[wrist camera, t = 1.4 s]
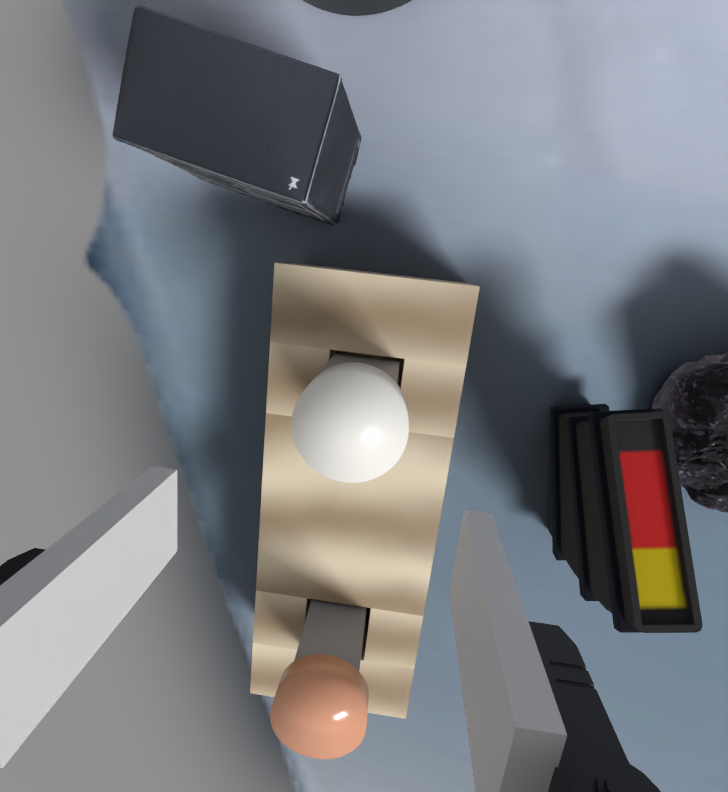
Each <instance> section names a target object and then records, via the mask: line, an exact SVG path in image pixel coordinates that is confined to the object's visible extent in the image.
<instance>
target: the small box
mask: <svg viewBox="0 0 728 792" xmlns="http://www.w3.org/2000/svg"><path fill="white" fill-rule="evenodd" d="M113 137H114V139H116V140H118V141H120V142H123V143H126V144H128V145H131V146H134V147H136V148H139V149H141V150H144V151H146V152H148V153H150V154H153V155H154V156H156V157H159V158H160V159H162V160H165V161H167V162H169V163H171V164H173V165H175V166H177V167H179V168H181V169H183V170H185V171H187V172H189V173H191V174H192V175H194V176H196V177H198V178H200V179H202V180H206V181H208V182H211V183H213V184H216V185H219V186H222V187H225V188H228V189H231V190H233V191H236V192H239V193H241V194H243V195H248V196H250V197H253V198H256V199H259V200H262V201H265V202H268V203H270V204H273V205H276V206H278V207H280V208H282V209H286V210H290V211H293V212H295V213H296V214H301V215H304V216H307V217H311V218H314V219H316V220H320V221H323V222H326V223H328V224H331V225H335V224H336V223H338V219H339V218H340V213H341V211H340V210H341V206H342V205H343V200H344V198H345V193H346V190H347V186H348V183H349V180H350V178H351V173H352V170H353V167H354V165H355V164H356V160H357V155H358V151H359V145H360V142H361V135H360V133H359V130H358V127H357V124H356V121H355V119H354V116H353V113H352V110H351V107H350V104H349V101H348V98H347V95H346V92H345V89H344V87H343V84H342V79H341V76H340V75H339V74H337V73H334V72H331V71H328V70H325V69H322V68H319V67H316V66H313V65H310V64H307V63H304V62H301V61H298V60H295V59H292V58H289V57H286V56H284V55H281V54H278V53H275V52H272V51H269V50H266V49H263V48H260V47H257V46H254V45H251V44H248V43H245V42H242V41H240V40H237V39H234V38H231V37H228V36H225V35H222V34H219V33H216V32H214V31H211V30H208V29H205V28H202V27H199V26H196V25H193V24H190V23H188V22H185V21H182V20H179V19H176V18H174V17H171V16H168V15H165V14H162V13H160V12H157V11H154V10H151V9H148V8H145V7H142V6H139V5H137V6H136V7H135V10H134V14H133V18H132V23H131V28H130V34H129V40H128V46H127V52H126V58H125V64H124V68H123V75H122V82H121V87H120V93H119V99H118V105H117V111H116V118H115V124H114V131H113Z"/></svg>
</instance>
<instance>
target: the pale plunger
mask: <svg viewBox="0 0 728 792" xmlns="http://www.w3.org/2000/svg"><path fill="white" fill-rule="evenodd" d="M398 372H399V362H395V361H387V360H379V359H371V358H363V357H355V356H347V355H339V354H334V355H333V357H332V358H331V359H330V360H329V362H328V363H327V364H326V365H325V366H324V368H323V369H322V370H321V371H320V373H319V374H318V375H317V376H316V377H315V378H314V379H313V380H312V381H311V383H310V384H309V385H308V386H307V388H306V389H305V390H304V391H303V392H302V394H301V395H300V397H299V398H298V400H297V402H296V404H295V407H294V410H293V414H292V420H291V429H292V436H293V440H294V443H295V445H296V448H297V450H298V452H299V453H300V455H301V457H302V458H303V459H304V460H305V462H306V463H307V464H308V465H309V466H310V467H311V468H313V469H314V470H315V471H316V472H318V473H320V474H321V475H323V476H325V477H327V478H329V479H332V480H335V481H340V482H346V483H359V482H365V481H369V480H372V479H375V478H377V477H379V476H381V475H383V474H384V473H386V472H387V471H388V470H390V469H391V468H392V467H393V466H394V465H395V464H396V463H397V461H398V460H399V459H400V457H401V456H402V454H403V452H404V450H405V447H406V444H407V440H408V434H409V414H408V406H407V402H406V399H405V396H404V394H403V392H402V390H401V388H400V387H399V386H398Z"/></svg>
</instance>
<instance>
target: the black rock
mask: <svg viewBox="0 0 728 792" xmlns="http://www.w3.org/2000/svg"><path fill="white" fill-rule="evenodd" d="M659 408H662V409H663V411H664V413H667V414H668V416H669V417H670V422H671V428H672V435H673V441H674V447H675V454H676V460H677V467H678V473H679V479H680V485H681V486H682V487H684V488H685V489H686V491H687V492H688V494H689V496H690V498H691V499H692V500H694V501H695V502H696V503H698V504H700V505H702V506H704V507H706V508H708V509H711V510H714V509H717V510H719V511H721V512H728V351H727V352H726V353H723V354H721V355H711V356H706V355H705V356H704V357H703V358H702V359H701V360H699V361H698V362H687V363H685V364H683V365H681V366H680V367H679V368H677V369H676V370H675V371H674V372H673V373H672V374H671V375H670V376H669V377H668V379H667V380H666V381H665V383H664V384H663V387H662V388H661V390H660V391H659V392H658V393H657V395H656V396H655V398H654V401H653V403H652V409H659Z"/></svg>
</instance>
